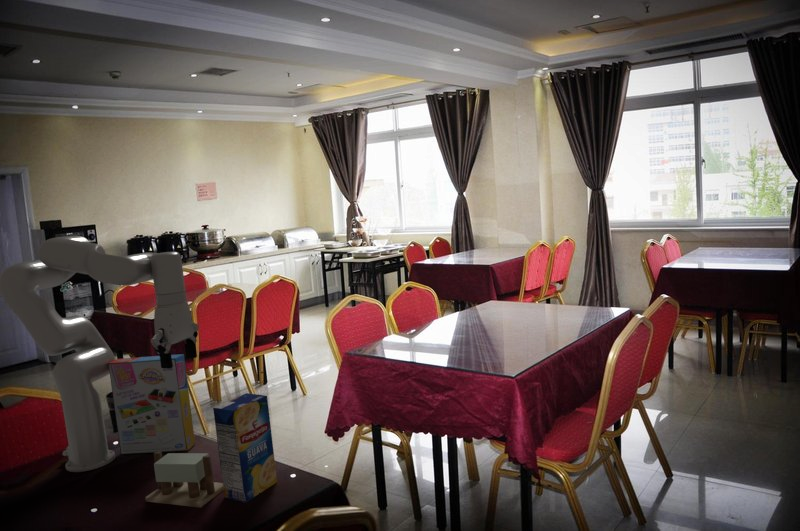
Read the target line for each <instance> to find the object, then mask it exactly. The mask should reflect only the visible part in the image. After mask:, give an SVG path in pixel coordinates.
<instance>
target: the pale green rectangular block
mask: <svg viewBox="0 0 800 531" xmlns="http://www.w3.org/2000/svg"><path fill="white" fill-rule="evenodd" d="M206 455H210V454H209V453H208V452H205V453H203V452H201V453H197V452H196V453H194V452H193V453H191V452H190V453H189V452H188V453H187V452H186V453H185V452H182V453H180V452H178V453H175V452H172V453H171V452H170V453H169V452H168V453H167V454H165V455H163V456H162V458H161V459H160V460H158V461H157V462H156V463H155V462H153V467H154V468H153V469H154V475H155V482H156V483H158V482H194V483H198V482H199V481H200V480H201V479H202V478H203V477H205V474H204V466H203V458H202V457H203V456H206Z"/></svg>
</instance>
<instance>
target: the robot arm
mask: <svg viewBox="0 0 800 531" xmlns="http://www.w3.org/2000/svg"><path fill="white" fill-rule="evenodd" d="M37 255H38V259H35V260H34V259H33V260H28V261H27V260H26V261H20V262H17V263H13V264H12V265H10V266H7V267H6V268H5V269H4V270H3V271H2V272H1V275H0V296H1V297H2V300H3V301H4V303H5V304H6V305H7V307H8V308H9V309H10V310H11V311H12V312H13V313H14V314H15V316H16V317H17V318H18V319H19V320H20V321H21V323H22V324H23V326H24V328H25V329H26V331H27V332H28V333H29V334H30V336H31V337H32V339H33V340H34V342H35V343H36V345H37V346H38V347H39V349H40V350H41V351H42V353H44V354H45V355H47V356H50V357H52V356H53V357H54V356H59V355H63V354H65V353H68V352H71V351H73V350H74V351H75V352H73V353H71V354H68V355H65V356H63V357H62V358H61V359H59V361H58V362H56V364H55V365H54V368H53V371H52V372H53V374H52V375H53V380H54V382H55V386H56V387H57V388H56V389H57V390H58V393H59V396H60V400H61V406H62V411H63V412H62V413H63V417H64V418H63V419H64V422H65V423H64V424H65V430H66V435H67V442H68V446H66V448H65V450H63V451H62V456H64V457H67V458H68V460H67V461H66V463H65V470H66V471H68V472H71V473H82V472H87V471H93V470H96V469H99V468H102V467H104V466H106V465H108V464H110V463H112V462H113V461H114V460H115V459H116V454H115V453H116V452H115V451H113V450H112V449H109V447H108V440H107V432H106V426H105V419H104V412H103V407H102V406H103V405H102V400H101V396H100V394H99V392H98V391H97V389H96V387H94V386H93V383H94V382H97V381H98V380H102V379H103V378H104V377H105V378H106V377H107V376H110V372H109V365H108V363H109V362H112V361H114V360H116V357H115V355H114V353H113V350H112V349H111V348H110V346H109V345H108V343H107V342H106V341H105V339H104V337H103V336H102V334H101V333H100V332H99V331H98V329H97V328H96V326H95V325H94V323H93V322H92V321H90V320H89V319H88V318H87V317H84V316H82V315H70V316H69V315H68V316H67V317H62V316H61V315H60V314H59V313H58V312H57V310H56V309H55V307H54V306H53V304H51V303H50V301H48V300H47V299H45V298H44V297H42V296H41V295H39V294H37V293H36V292H38V291H41V290H46V289H51V288H55V287H58V286H61V285H63V284H64V283H66V282H67V281H68V280H69V279H71V278H72V277H73V276H74V275H75V274H76V273H77V274H82V275H88V276H89V277H90V278H92V279H93V280H95V281H97V282H100V283H104V284H111V285H116V286H122V287H123V286H133V285H136V284H140V283H145V282H149V281H152V282H153V288H154V295H155V296H154V297H155V302H156V307H155V308H154V311H153V312H154V315H153V316H154V318H153V320H154V321H153V322H154V324H153V325H154V335H153V336H152V338H151V339H150V343H151V344H152V346H153V349H154V350H155V351H156V353H157V354H158V355H159V356H160V362H161V368H172V367H173V365H172V357H171V355H172V353H171V352H170V351H171V347H172V345H175V344H177V343H180V342H182V341H184V342H185V343H184V350H185V351H184V352H185V357H186V358H187V359H196V358H197V357H198V354H197V352H198V351H197V346H196V343H197V341H198V340H197V337H198V336H199V328H200V325H199V324H198V323H196V322H193V318H192V317H193V316H192V313H191V309H190V305H189V302H188V301H187V300H188V299H187V291H186V282H185V275H184V269H183V268H184V267H183V261H182V256H181V254H180V253H179V252H177V251H165V252H159V253H157V252H142V253H134V254H130V255H122V256H121V255H113V254H107V253H106V250H105V249H104V247H103V246H102V245H101V244H98V243H93V242H91V241H90V240H88V239H87V238H86V237H84V236H82V235H81V236H80V235H66V236H58V237H52V238H48V239H46V240H44V242H42V243H41V244H40V245H39V248H38V249H37Z"/></svg>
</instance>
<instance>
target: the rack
mask: <svg viewBox="0 0 800 531" xmlns="http://www.w3.org/2000/svg"><path fill="white" fill-rule="evenodd" d="M153 457H154V463H156V462H157V461H158V460H160V459H161V458H162V457H163V452H161V451H159V452H153ZM202 458H203V466H204V474H205V477H203V478H202V479H201V480H200V481H199V482H198V483H194V482H157V486H158V488H157V489H156V490H154V491H152V492H151V493H150V494H148V495H147V496H145V502H148V503H156V504H163V505H164V504H165V505H166V504H167V505H175V506H182V507H183V506H185V507H193V508H203V507H204V506H205V505H206V504H207V503H209V502H210V501H211V500H213V499H214V498H215V497H216V496H218V495H219V494H220V493H222V492H224V489H223V482H215V481H214V475H213V474H214V473H213V466H212V460H211V459H212V458H211V454H209V455H206V456H203V457H202Z"/></svg>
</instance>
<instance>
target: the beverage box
mask: <svg viewBox="0 0 800 531" xmlns="http://www.w3.org/2000/svg"><path fill="white" fill-rule="evenodd" d="M212 409H213V410H212V411H213V418H214V425H215V426H214V427H215V432H216V434H215V435H216V440H217V449H218V457H219V464H220V465H219V466H220V473H221V479H222V482H221V483H223V489H224V490H223V495H224V498H226V499H231V500H233V501H238V502H242V503H245V502H246V503H247V502H249V501H250V500H252V499H253V498H256V496H258V495H260V494H261V493H263V492H264V491H265V490H267V489H269V488H270V487H272V486H274V485H275V484H277V483H278V479H277V469H276V461H275V460H276V459H275V453H274V452H275V451H274V444H273V443H274V442H273V435H272V426H271V425H272V424H271V419H270V418H271V417H270V409H269V401H268V395H265V394H264V395H263V394H255V393H249V392H248V393H246V392H245V393H243V394H241V395H239V396H237V397H234V398H232V399H231V400H227V401H226V402H223V403H221V404H219V405H217V406H214V407H212ZM259 493H260V494H259Z"/></svg>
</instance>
